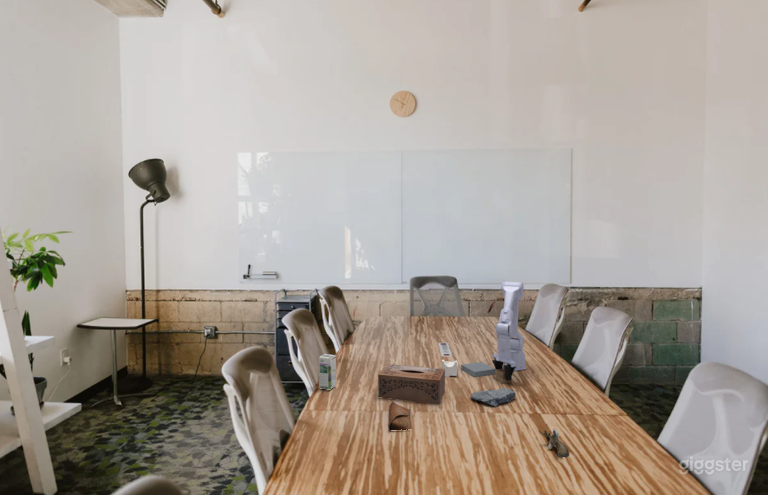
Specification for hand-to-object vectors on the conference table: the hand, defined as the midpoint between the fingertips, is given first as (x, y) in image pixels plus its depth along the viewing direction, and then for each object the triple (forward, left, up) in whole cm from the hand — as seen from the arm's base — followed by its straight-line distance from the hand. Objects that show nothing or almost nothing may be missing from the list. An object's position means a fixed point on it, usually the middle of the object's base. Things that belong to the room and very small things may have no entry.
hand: (503, 377), depth 191 cm
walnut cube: (0, 0, -2) cm, 2 cm away
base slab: (+4, -15, -1) cm, 16 cm away
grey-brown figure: (+23, +56, -2) cm, 61 cm away
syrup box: (+78, -21, -2) cm, 81 cm away
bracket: (+17, -19, -2) cm, 26 cm away
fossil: (+18, +17, -2) cm, 25 cm away
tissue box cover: (+46, -1, -2) cm, 46 cm away
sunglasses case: (+60, +19, -2) cm, 63 cm away
